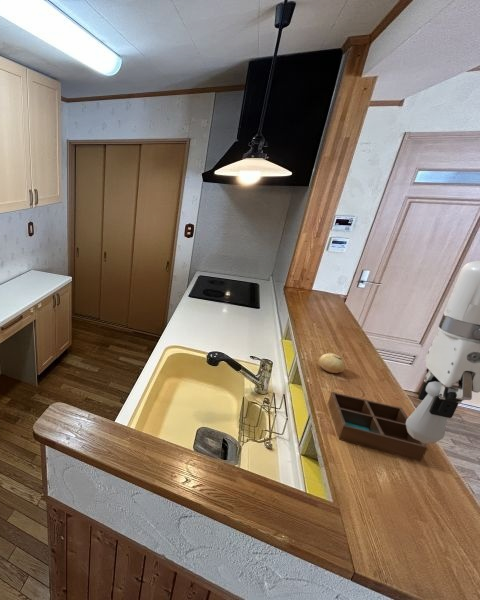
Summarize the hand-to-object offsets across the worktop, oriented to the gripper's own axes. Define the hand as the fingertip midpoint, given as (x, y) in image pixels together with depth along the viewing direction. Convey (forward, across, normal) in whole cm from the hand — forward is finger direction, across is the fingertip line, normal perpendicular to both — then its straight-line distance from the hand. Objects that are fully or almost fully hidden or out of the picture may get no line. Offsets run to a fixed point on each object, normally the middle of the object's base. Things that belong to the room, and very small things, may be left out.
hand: (434, 406), depth 67 cm
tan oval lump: (+24, +54, +4) cm, 60 cm away
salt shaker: (+8, 0, 0) cm, 8 cm away
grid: (+23, +22, 0) cm, 32 cm away
